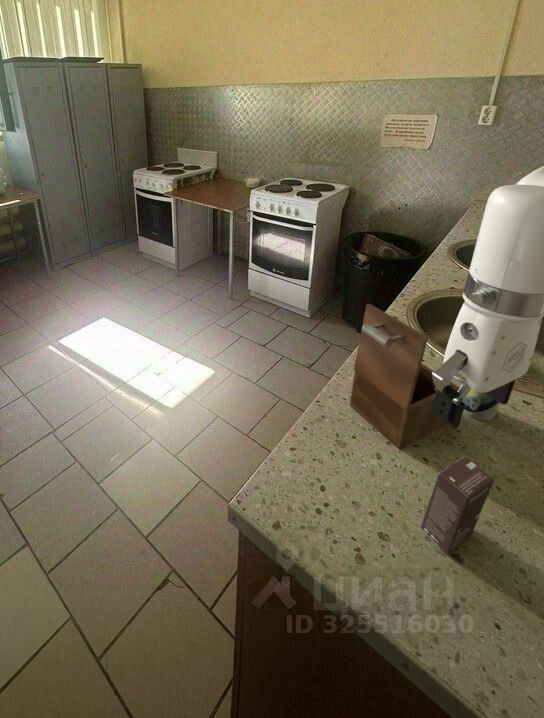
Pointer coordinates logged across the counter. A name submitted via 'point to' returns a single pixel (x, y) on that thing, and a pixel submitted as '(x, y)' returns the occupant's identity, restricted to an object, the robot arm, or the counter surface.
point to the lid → (390, 355)
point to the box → (456, 504)
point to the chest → (398, 409)
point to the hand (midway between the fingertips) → (469, 408)
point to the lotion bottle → (480, 406)
